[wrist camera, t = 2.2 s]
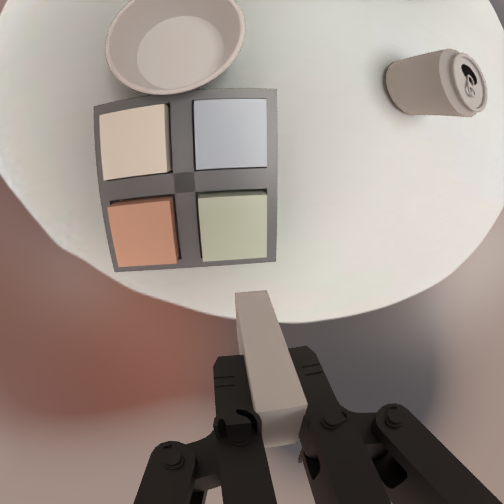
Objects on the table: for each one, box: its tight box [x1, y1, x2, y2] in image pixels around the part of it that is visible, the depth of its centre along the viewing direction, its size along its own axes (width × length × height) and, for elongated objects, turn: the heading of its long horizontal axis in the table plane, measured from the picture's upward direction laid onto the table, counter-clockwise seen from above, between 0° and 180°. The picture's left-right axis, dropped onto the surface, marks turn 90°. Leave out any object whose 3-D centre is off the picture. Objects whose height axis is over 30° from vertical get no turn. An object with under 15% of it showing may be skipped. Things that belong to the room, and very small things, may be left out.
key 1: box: [198, 190, 267, 262], centre depth 25 cm, size 6×6×2 cm
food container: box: [105, 0, 246, 95], centre depth 18 cm, size 12×12×7 cm
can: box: [386, 49, 487, 117], centre depth 20 cm, size 8×8×12 cm
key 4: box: [99, 104, 171, 180], centre depth 21 cm, size 6×6×2 cm
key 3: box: [194, 99, 267, 170], centre depth 22 cm, size 6×6×2 cm
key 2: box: [107, 195, 180, 267], centre depth 24 cm, size 6×6×2 cm
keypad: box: [94, 88, 277, 272], centre depth 25 cm, size 17×17×4 cm
